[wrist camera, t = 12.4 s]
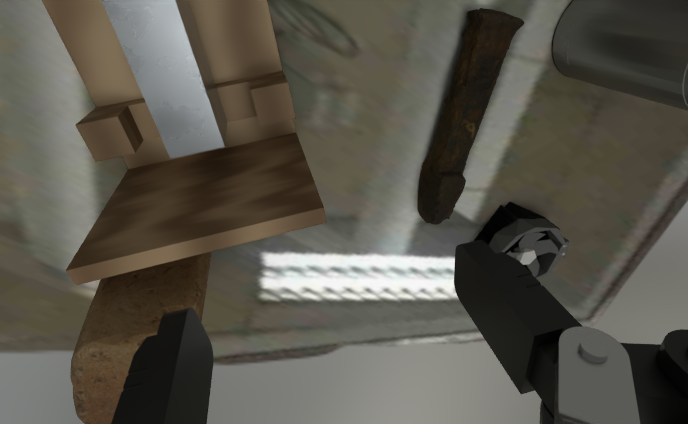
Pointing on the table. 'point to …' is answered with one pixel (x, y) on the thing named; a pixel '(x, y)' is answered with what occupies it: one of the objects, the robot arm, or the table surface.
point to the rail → (171, 72)
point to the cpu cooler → (525, 238)
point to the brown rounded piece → (128, 328)
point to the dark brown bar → (464, 111)
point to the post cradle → (195, 169)
